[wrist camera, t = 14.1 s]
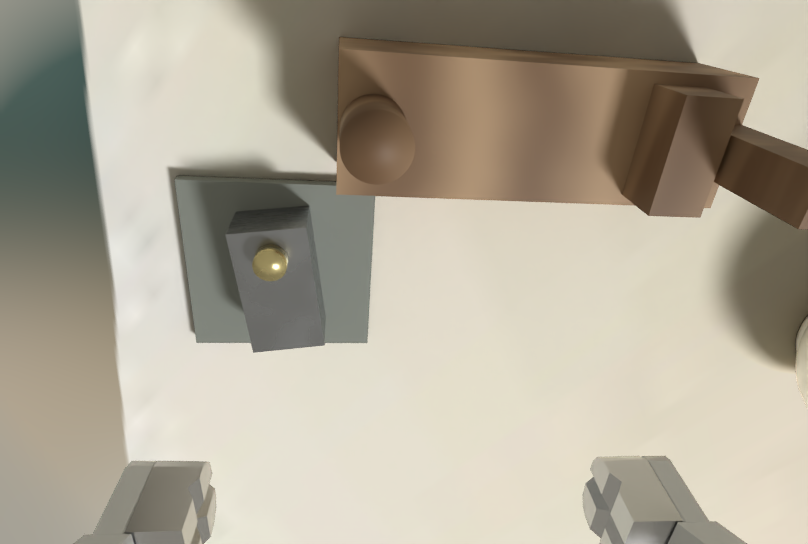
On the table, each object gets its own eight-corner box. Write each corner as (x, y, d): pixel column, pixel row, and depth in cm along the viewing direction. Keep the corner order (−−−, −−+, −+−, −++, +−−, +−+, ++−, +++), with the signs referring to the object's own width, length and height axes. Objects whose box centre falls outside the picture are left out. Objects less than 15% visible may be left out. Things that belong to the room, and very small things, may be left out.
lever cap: (325, 316, 31) (323, 354, 28) (260, 322, 31) (251, 361, 28) (309, 205, 28) (305, 234, 25) (235, 211, 28) (222, 242, 24)
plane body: (698, 63, 27) (909, 115, 17) (662, 177, 30) (823, 280, 20) (339, 36, 25) (337, 79, 15) (337, 163, 28) (334, 270, 18)
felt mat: (374, 183, 28) (375, 187, 28) (366, 337, 33) (367, 342, 33) (177, 175, 27) (174, 179, 26) (198, 336, 32) (196, 342, 31)
